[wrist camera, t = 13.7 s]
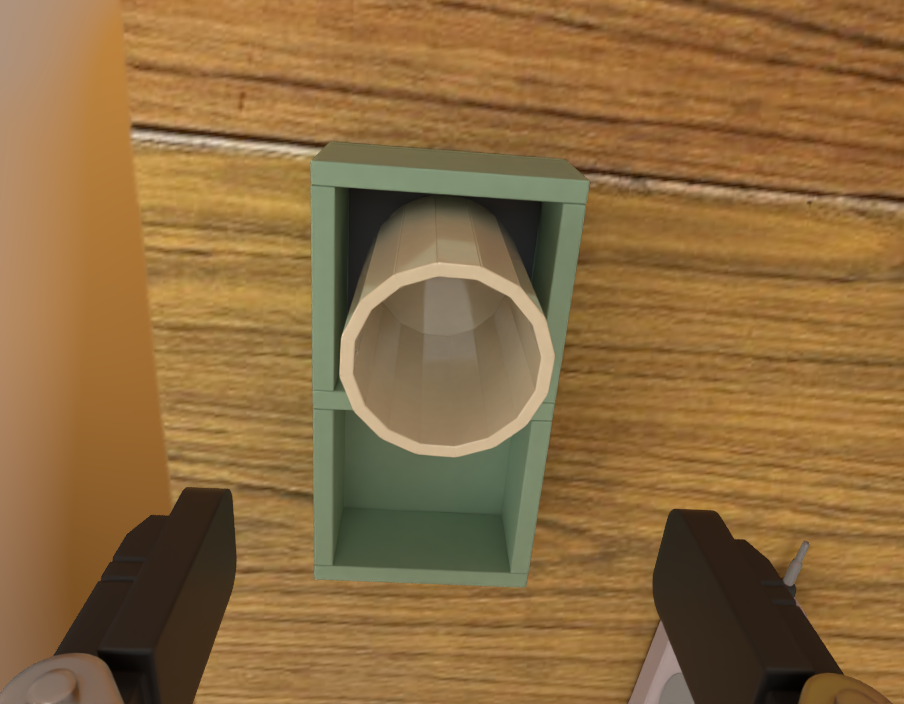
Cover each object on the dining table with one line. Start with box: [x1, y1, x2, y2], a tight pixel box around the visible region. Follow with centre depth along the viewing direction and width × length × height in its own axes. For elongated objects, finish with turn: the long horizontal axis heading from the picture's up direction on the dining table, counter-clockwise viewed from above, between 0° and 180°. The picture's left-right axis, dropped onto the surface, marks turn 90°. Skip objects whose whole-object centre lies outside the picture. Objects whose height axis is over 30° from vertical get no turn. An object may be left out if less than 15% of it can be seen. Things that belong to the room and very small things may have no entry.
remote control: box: [628, 541, 810, 704], centre depth 36 cm, size 7×16×3 cm, turn 171°
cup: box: [339, 195, 555, 457], centre depth 23 cm, size 6×6×9 cm
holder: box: [310, 142, 590, 588], centre depth 28 cm, size 17×9×5 cm, turn 176°
